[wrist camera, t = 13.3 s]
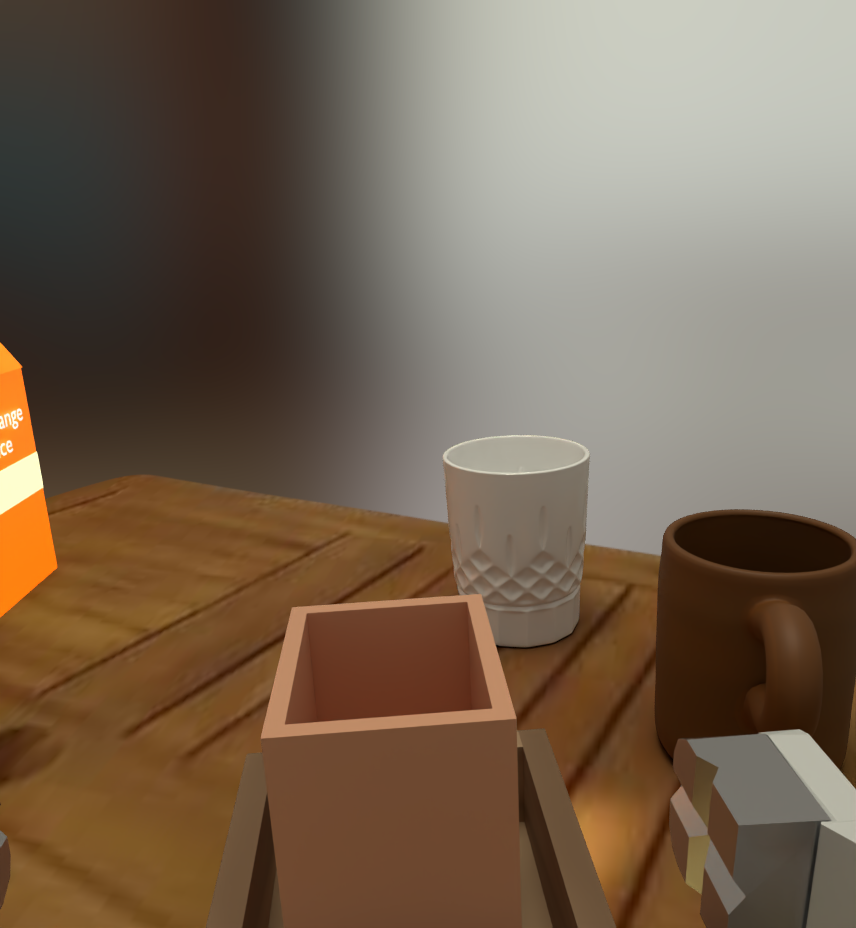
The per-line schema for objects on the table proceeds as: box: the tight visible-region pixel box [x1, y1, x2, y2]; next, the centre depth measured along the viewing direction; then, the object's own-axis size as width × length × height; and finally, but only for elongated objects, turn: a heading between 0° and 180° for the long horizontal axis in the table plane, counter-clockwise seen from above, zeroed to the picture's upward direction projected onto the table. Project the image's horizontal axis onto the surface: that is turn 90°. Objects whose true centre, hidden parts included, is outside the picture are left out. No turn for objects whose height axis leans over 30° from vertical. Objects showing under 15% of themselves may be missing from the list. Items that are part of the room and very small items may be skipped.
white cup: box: [443, 435, 590, 647], centre depth 45 cm, size 8×8×10 cm
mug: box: [655, 509, 856, 770], centre depth 31 cm, size 12×8×9 cm, turn 167°
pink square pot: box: [261, 594, 522, 928], centre depth 24 cm, size 6×7×10 cm
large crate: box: [206, 728, 616, 928], centre depth 25 cm, size 11×12×4 cm
